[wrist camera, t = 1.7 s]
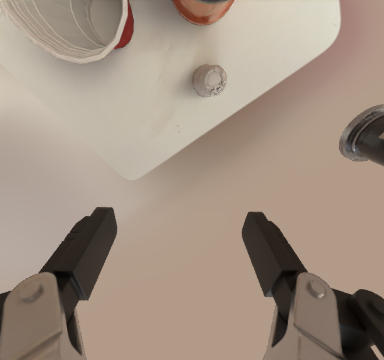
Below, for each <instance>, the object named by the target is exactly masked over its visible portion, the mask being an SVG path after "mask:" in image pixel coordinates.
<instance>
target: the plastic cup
mask: <svg viewBox="0 0 384 360" xmlns="http://www.w3.org/2000/svg"><path fill="white" fill-rule="evenodd" d="M0 7H1V8H2V10H3V11H4V13H5V14H6V15H7V16H8V17H9V18H10V19H11V20H12V21H13V23H14V24H15V25H16V26H17V27H18V28H19V29H20V30H21V31H22V32H23V33H24V34H25V35H26V36H27V37H28V38H29V39H30V41H32V42H33V43H35V44H36V45H38V46H39V47H41V48H43V49H44V50H46V51H47V52H49V53H50V54H52V55H53V56H55V57H57V58H59V59H63V60H67V61H71V62H76V63H80V64H84V63H88V62H92V61H96V60H100V59H103V58H104V57H105V56H106V55H107V54H108V53H109V52H110V51H111V50H112V49H117V48H121V47H124V46H125V45H126V44H127V43H128V42H129V41H130V39H131V37H132V34H133V27H134V20H133V16H132V11H131V7H130V4H129V0H0Z"/></svg>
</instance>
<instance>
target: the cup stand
mask: <svg viewBox="0 0 384 360" xmlns="http://www.w3.org/2000/svg"><path fill="white" fill-rule="evenodd" d="M172 2H173V4H174V6H175V8H176V9H177V11H178V12H179V13H180V15H181V16H182V17H183V18H185V19H186V20H187V21H189V22H191V23H193V24H195V25H210V24H212V23H214V22H216V21H218V20H219V19H221V18H222V17H223V16H224V15H225V14H226V12H227V11H228V10H229V8H230V7H231V5H232V3H233V2H234V0H172Z"/></svg>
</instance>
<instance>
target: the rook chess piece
mask: <svg viewBox="0 0 384 360" xmlns="http://www.w3.org/2000/svg"><path fill="white" fill-rule="evenodd" d="M226 82H227V77H226V73H225V71H224V69H223V68H221V67H220V66H218V65H209V64H206V65H203V66H200V67H199V68H198V69H197V70H196V72H195V74H194V77H193V85H194V89H195V90H196V92H197V93H198V94H199V95H201V96H202V97H210V96H215V95H218V94H220V93H221V92H222V91H223V90H224V88H225V86H226Z"/></svg>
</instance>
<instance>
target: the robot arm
mask: <svg viewBox="0 0 384 360" xmlns="http://www.w3.org/2000/svg"><path fill="white" fill-rule="evenodd" d="M351 149H352V152H353V153H354V154H355V155H357V156H359V157H363V158H365V159H368V160H370V161H373V162H375V163H377V164H380V165H382V166H384V113H382V114H379V115H377V116H375V117H373V118H371V119H370V120H368V121H367V122H366V123H365V124H363V125H362V126H361V127H360V129H359V130H358V131H357V132H356V134H355V136H354V138H353V140H352V144H351ZM116 234H117V224H116V219H115V214H114V210H113V208H112V207H97V208H96V209H95V210H94V212H93V213H92V214H91V216H85V217H84V218H83V219H81V220H80V221H79V222H77V223H76V224H75V226H74V227H73V228H72V230H71V231H70V233H69V234H68V235H67V236H66V238H65V240H64V241H62V243H61V244H60V245H59V247H58V248H57V250H56V251H55V252H54V253H53V255H52V256H51V257H50V259H49V260H48V261H47V263H46V264H45V265H44V266H43V268H42V269H41V270H40V272H39V273H38V274H35V275H33V276H30V277H29V278H27V279H25V280H24V281H22V282H21V283H19V284H18V285H17V286H16V287H15V288H14V289H13V290H12V291H8V292H5V293H2V294H0V360H87V359H86V355H85V351H84V346H83V341H82V336H81V331H80V326H79V321H78V315H77V311H76V308H75V307H76V305H77V303H78V301H79V300H88V299H89V297H90V295H91V292H92V290H93V288H94V285H95V283H96V281H97V279H98V276H99V274H100V272H101V269H102V267H103V265H104V263H105V260H106V258H107V256H108V253H109V251H110V249H111V247H112V244H113V242H114V239H115V237H116ZM242 238H243V241H244V243H245V246H246V249H247V251H248V254H249V257H250V259H251V262H252V265H253V267H254V270H255V272H256V275H257V278H258V280H259V283H260V286H261V288H262V291H263V293H264V296H265V297H273V298H274V300H275V302H276V306H275V311H274V316H273V322H272V326H271V331H270V337H269V342H268V347H267V350H266V353H265V355H264V358H263V360H379V359H378V358H377V356H376V355H375V353H374V352H373V350H372V349H371V346H373V345H376V346H377V348H378V350H379V351H380V353H381V354H382V355H383V357H384V299H383V298H382V297H380V296H379V295H377V294H375V293H373V292H371V291H368V290H364V289H360V290H358V291H356V292H355V293H354V294H353V295H351V294H348V293H344V292H342V291H339V290H335V289H332V288H330V286H329V285H328V284H327V283H326V282H325V281H323V280H322V279H321V278H319V277H318V276H316V275H314V274H311V273H308V271H307V270H306V269H305V267H304V266H303V264H302V263H301V261H300V259H299V258H298V256H297V255H296V254H295V252H294V250H293V249H292V247H291V246H290V244H288V241H287V240H286V238H285V237H284V236H283V234H282V232H281V231H280V229H279V228H278V227H277V226H276V225H275V224H274V223H273V222H271V221H268V220H267V219H266V217H265V215H264V214H263V213H262V212H248V214H247V217H246V220H245V222H244V225H243V228H242Z"/></svg>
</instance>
